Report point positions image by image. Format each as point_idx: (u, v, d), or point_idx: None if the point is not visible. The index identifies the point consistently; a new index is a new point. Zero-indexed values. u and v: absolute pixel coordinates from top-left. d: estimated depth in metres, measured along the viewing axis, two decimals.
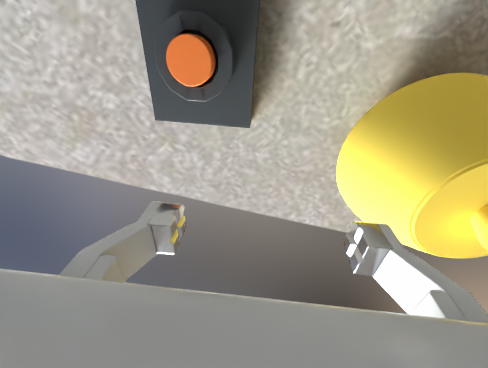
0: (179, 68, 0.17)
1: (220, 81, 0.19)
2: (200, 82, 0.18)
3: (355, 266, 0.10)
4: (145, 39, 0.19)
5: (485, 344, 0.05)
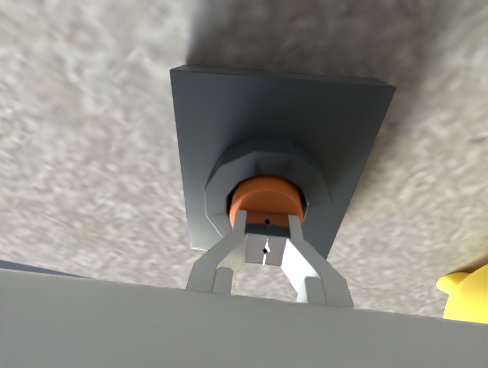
0: None
1: (303, 233, 0.12)
2: None
3: (264, 256, 0.10)
4: (186, 164, 0.13)
5: (485, 344, 0.05)
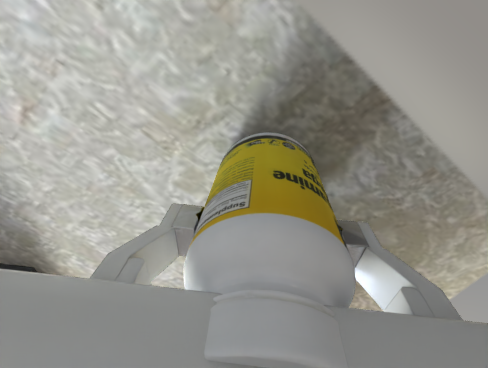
0: None
1: None
2: None
3: None
4: None
5: (485, 344, 0.05)
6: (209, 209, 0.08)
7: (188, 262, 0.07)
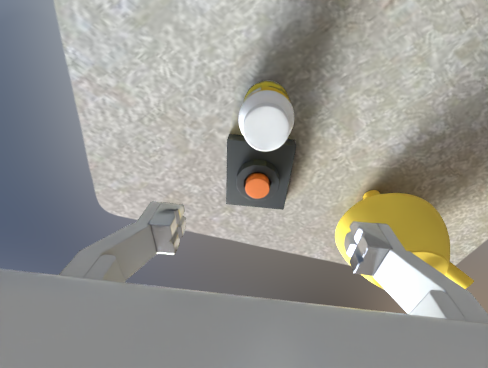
0: (251, 191, 0.33)
1: (271, 193, 0.34)
2: (262, 197, 0.33)
3: (355, 266, 0.10)
4: (228, 168, 0.35)
5: (485, 344, 0.05)
6: (246, 97, 0.25)
7: (242, 108, 0.23)
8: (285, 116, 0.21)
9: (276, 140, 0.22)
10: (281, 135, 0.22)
